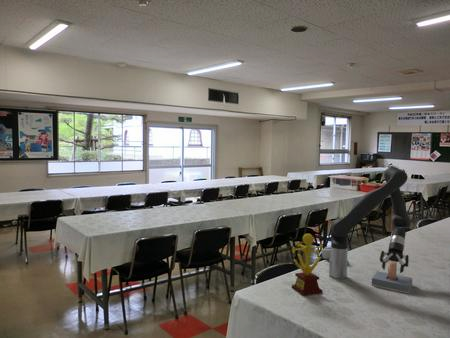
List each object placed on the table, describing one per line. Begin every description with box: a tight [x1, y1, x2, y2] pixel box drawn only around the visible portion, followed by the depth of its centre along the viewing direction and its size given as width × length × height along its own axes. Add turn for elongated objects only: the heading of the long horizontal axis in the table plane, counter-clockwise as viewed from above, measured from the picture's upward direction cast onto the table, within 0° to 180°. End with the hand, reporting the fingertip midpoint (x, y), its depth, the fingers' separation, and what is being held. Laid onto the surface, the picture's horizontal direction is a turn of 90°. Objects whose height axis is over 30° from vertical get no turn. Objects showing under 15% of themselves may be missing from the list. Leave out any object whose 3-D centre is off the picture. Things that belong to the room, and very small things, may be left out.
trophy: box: [291, 233, 324, 297], centre depth 183 cm, size 14×16×30 cm
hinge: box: [321, 246, 349, 263], centre depth 235 cm, size 17×5×10 cm, turn 44°
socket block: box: [371, 270, 413, 294], centre depth 193 cm, size 18×14×4 cm
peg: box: [387, 261, 398, 280], centre depth 192 cm, size 4×4×12 cm
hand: (392, 270), depth 191 cm, fingers open, 8 cm apart
